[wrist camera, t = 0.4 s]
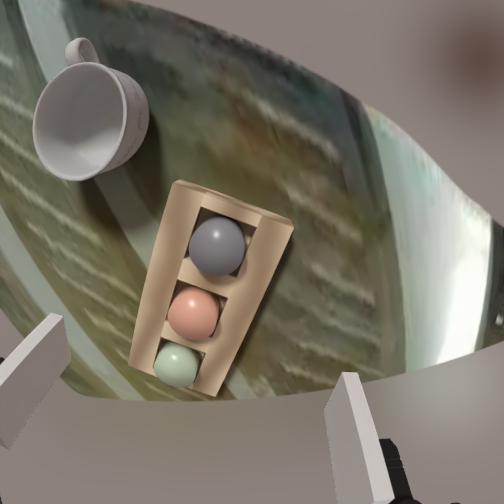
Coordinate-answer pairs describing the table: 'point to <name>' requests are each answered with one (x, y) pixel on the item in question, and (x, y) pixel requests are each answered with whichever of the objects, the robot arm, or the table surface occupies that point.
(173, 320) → the terracotta button
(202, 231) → the charcoal button
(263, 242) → the button panel
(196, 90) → the table surface
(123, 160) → the teacup
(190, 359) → the sage button
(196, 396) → the table surface
